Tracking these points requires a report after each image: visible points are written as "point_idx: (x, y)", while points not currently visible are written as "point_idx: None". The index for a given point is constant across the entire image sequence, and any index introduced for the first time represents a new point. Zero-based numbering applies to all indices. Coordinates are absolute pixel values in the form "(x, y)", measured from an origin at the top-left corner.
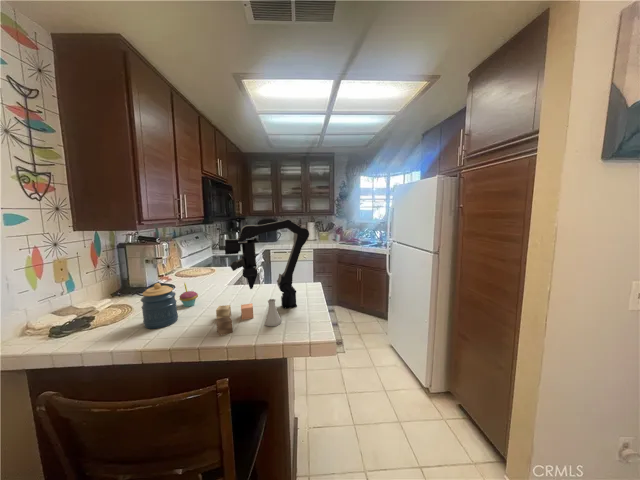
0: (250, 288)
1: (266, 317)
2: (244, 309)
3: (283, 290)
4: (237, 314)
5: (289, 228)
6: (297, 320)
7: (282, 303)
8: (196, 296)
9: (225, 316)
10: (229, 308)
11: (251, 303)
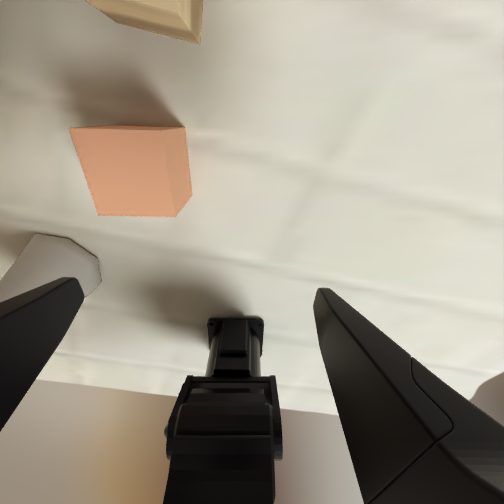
0: (60, 284)
1: (15, 261)
2: (84, 154)
3: (175, 405)
4: (205, 96)
5: None
6: (88, 334)
7: (221, 330)
8: None
9: None
10: (135, 6)
11: (173, 211)
